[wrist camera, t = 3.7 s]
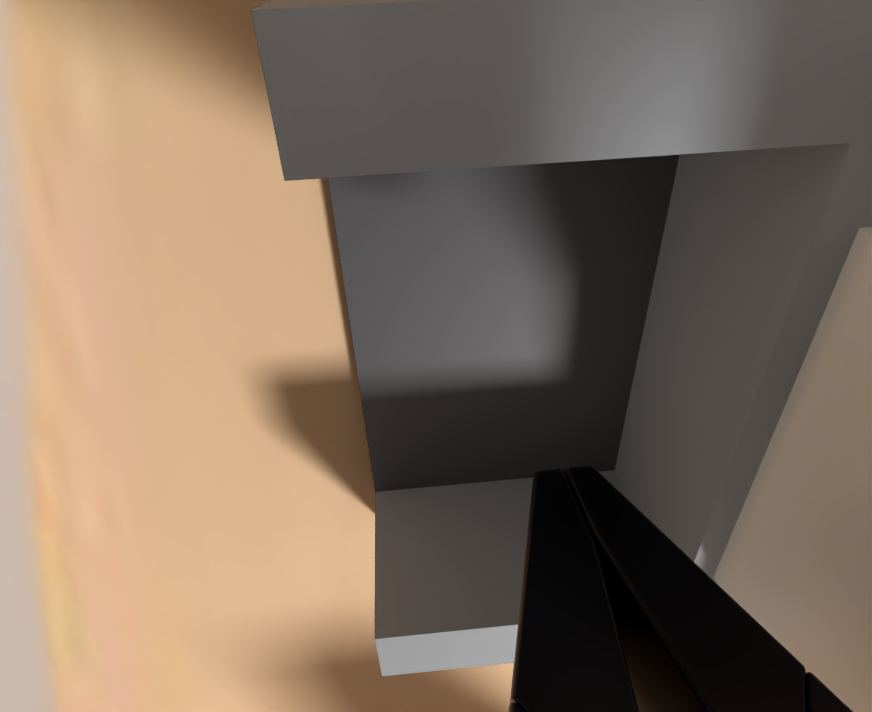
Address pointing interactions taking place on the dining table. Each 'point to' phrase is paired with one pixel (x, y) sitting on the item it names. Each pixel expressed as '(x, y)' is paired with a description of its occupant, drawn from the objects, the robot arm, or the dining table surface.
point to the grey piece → (568, 261)
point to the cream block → (818, 502)
